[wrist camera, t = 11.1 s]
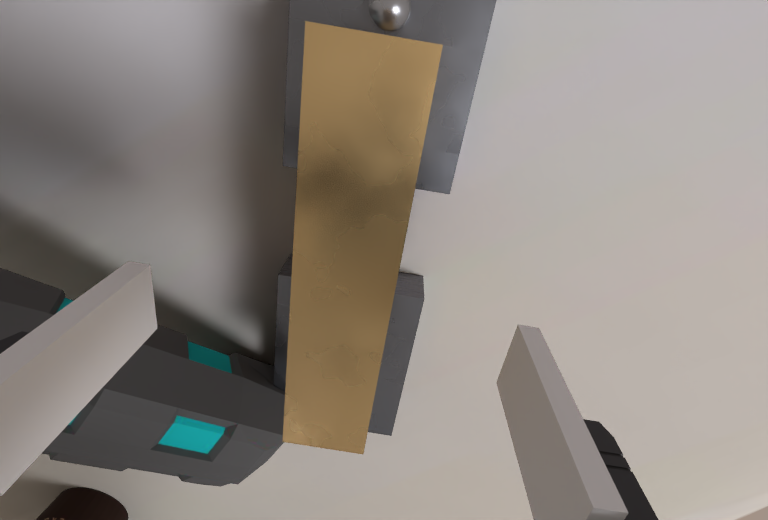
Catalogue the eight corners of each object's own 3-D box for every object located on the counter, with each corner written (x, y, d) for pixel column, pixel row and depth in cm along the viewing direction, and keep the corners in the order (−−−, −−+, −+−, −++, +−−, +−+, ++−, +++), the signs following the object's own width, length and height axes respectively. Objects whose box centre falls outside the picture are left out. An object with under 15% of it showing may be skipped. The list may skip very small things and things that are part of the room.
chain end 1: (445, 179, 22) (450, 198, 19) (295, 153, 22) (278, 169, 19) (486, 3, 18) (499, -5, 15) (306, -29, 18) (286, -43, 15)
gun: (-250, 1, 18) (-1131, 140, 7) (295, 279, 34) (296, 461, 23) (-262, 113, 21) (-926, 349, 9) (252, 324, 37) (233, 508, 25)
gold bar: (375, 348, 27) (363, 454, 20) (316, 338, 27) (282, 441, 20) (431, 46, 19) (443, 44, 12) (345, 31, 19) (305, 20, 12)
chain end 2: (392, 406, 30) (390, 448, 26) (282, 389, 29) (267, 429, 26) (423, 276, 24) (424, 309, 21) (290, 254, 24) (272, 284, 21)
